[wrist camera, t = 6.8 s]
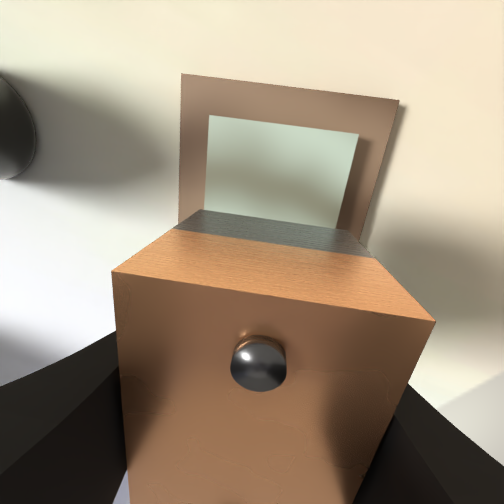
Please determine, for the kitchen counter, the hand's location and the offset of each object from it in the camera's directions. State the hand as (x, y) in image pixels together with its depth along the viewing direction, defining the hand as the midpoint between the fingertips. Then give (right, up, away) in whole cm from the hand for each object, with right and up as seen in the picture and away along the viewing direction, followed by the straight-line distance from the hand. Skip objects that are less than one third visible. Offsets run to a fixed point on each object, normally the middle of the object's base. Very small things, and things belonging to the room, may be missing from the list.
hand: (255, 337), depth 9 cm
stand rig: (0, +1, +10) cm, 10 cm away
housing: (0, 0, +1) cm, 1 cm away
